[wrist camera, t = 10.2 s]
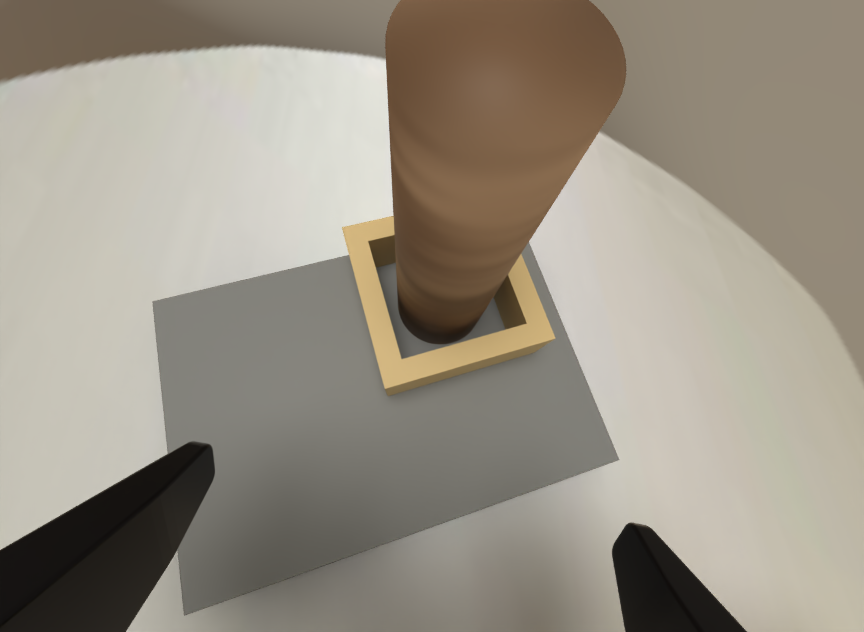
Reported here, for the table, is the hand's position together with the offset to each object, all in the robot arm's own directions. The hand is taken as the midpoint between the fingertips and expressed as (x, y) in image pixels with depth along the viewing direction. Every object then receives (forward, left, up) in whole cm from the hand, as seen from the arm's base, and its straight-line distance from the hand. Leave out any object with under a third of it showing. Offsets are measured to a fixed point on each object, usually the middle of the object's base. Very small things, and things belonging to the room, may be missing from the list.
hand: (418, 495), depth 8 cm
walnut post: (+7, -4, -10) cm, 13 cm away
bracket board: (+4, 0, -12) cm, 12 cm away
